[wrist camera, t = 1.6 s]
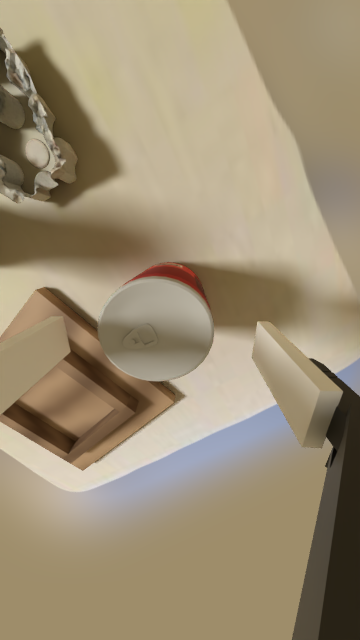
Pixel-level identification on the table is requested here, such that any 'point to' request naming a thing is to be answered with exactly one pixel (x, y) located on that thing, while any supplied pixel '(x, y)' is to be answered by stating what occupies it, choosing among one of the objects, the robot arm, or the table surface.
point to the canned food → (157, 324)
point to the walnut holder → (80, 392)
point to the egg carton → (8, 110)
